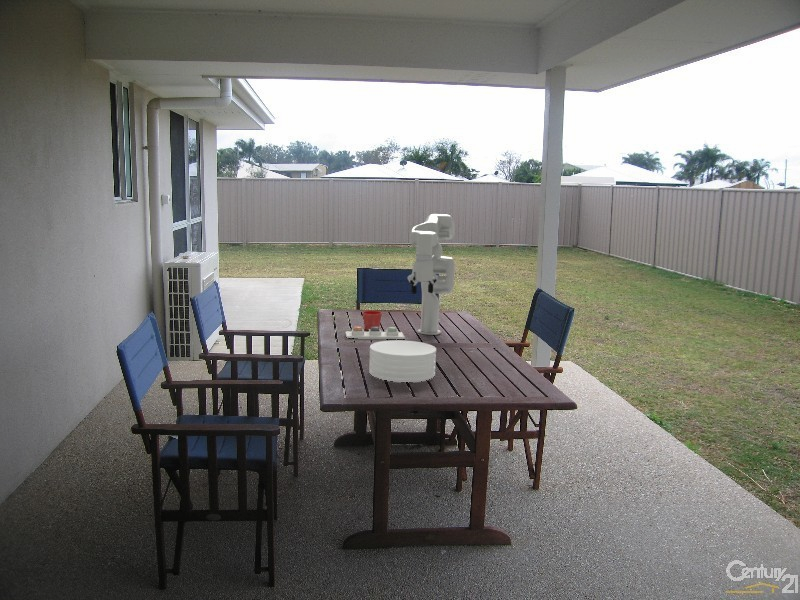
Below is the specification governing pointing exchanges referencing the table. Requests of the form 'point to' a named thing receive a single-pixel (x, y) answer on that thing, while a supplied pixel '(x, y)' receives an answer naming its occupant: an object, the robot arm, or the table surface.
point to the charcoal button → (374, 328)
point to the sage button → (391, 329)
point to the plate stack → (402, 361)
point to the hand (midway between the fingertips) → (422, 293)
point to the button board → (374, 334)
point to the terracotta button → (357, 328)
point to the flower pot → (371, 319)
